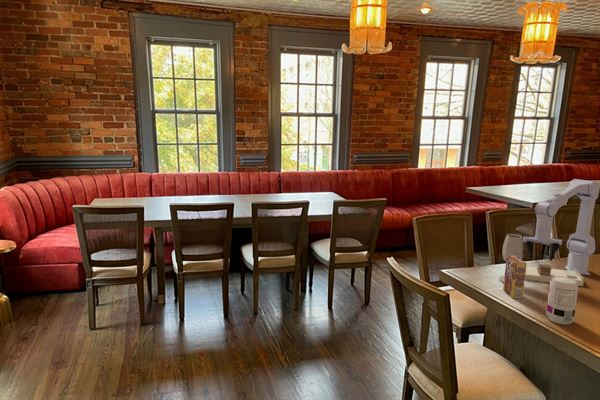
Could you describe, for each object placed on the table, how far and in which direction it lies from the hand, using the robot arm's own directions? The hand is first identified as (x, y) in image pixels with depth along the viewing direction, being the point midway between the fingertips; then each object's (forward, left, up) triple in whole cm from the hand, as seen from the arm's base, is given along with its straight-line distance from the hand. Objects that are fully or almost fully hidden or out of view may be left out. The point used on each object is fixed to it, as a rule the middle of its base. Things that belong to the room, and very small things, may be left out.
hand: (540, 258), depth 174 cm
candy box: (+21, -13, -10) cm, 26 cm away
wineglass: (+6, -12, -10) cm, 17 cm away
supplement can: (+40, -1, -10) cm, 41 cm away
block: (-2, +3, -8) cm, 8 cm away
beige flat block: (-5, +5, -10) cm, 12 cm away
